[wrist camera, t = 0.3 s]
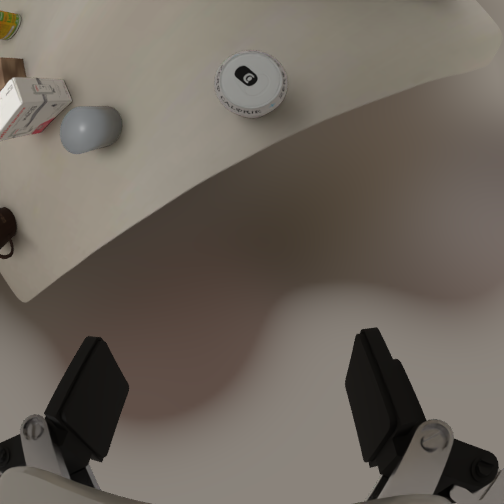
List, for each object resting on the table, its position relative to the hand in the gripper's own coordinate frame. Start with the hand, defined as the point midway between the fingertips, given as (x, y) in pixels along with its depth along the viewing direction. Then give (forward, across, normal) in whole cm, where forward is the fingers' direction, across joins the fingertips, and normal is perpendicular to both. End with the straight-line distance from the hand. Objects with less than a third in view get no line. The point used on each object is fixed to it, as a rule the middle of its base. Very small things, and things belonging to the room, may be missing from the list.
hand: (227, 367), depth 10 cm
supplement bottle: (+31, +40, -38) cm, 63 cm away
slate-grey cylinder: (+31, +20, -11) cm, 38 cm away
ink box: (+31, +29, -17) cm, 46 cm away
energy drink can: (+31, -2, -11) cm, 33 cm away
